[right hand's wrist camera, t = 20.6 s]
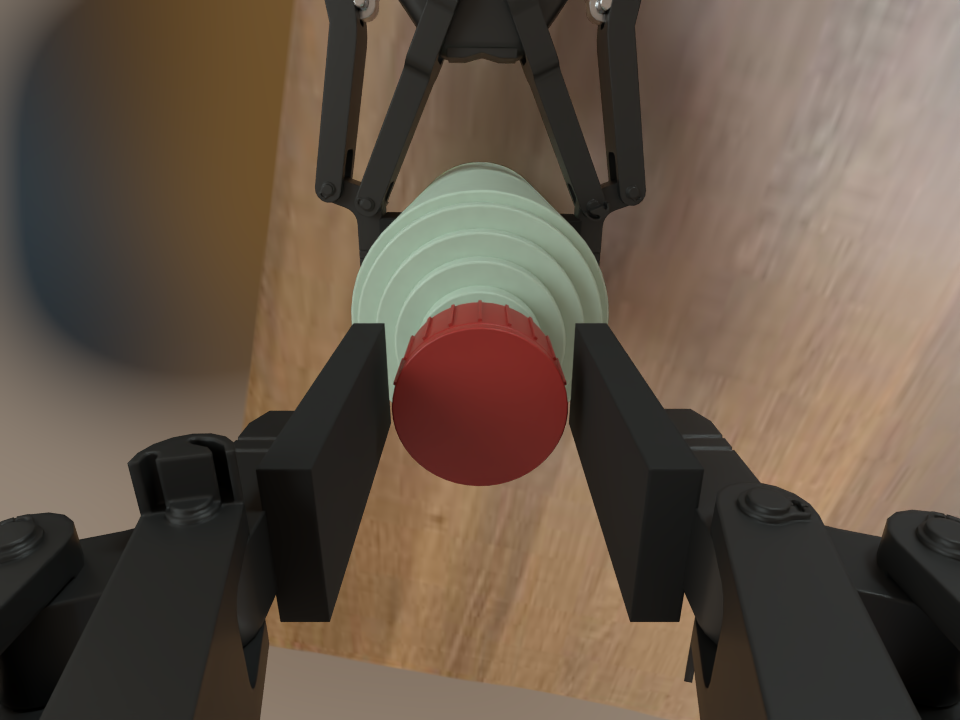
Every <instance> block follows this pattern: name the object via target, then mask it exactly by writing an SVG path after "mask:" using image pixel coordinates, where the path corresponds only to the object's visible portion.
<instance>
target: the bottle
mask: <svg viewBox="0 0 960 720" xmlns="http://www.w3.org/2000/svg"><path fill="white" fill-rule="evenodd" d="M478 300H482V302H486V303H494V304H499V305H503V306H505V304H507V305H509V308H512V309H514V310H516V311H518V312H520V313H522V314H523V315H525V316H526V317H528V318H529V316H530V317H531V318H532V319H533V322H534V323H535V324H536V325H537V326H538V327H539V328H540V329H541V331H542V332H543V333H544V334H545V336H547V335H548V336H549V338H550V341H551V344H552V347H553V349H554V352H555V355H556V358H558V359H559V362H560V365H561V368H562V371H563V374H564V377H565V380H566V383H567V385H565V388H566V392H567V399H568V402H569V401H570V400H571V384H572V368H573V352H574V337H575V323H607V325H608V298H607V291H606V286H605V282H604V279H603V276H602V272H601V270H600V267H599V265H598V263H597V261H596V259H595V256H594V255H593V253H592V252H591V250H590V248H589V247H588V245H587V244H586V242H585V241H584V240H583V238H582V237H581V236H580V235H579V234H578V233H577V231H576V230H575V229H574V228H573V227H572V226H571V225H570V224H569V223H568V222H567V221H566V220H565V219H564V218H563V217H562V216H561V215H560V214H559V213H558V212H557V211H556V210H555V209H554V208H553V207H552V206H551V205H550V204H549V203H548V202H547V201H546V200H545V199H544V198H543V197H542V196H541V195H540V194H539V193H538V192H537V191H536V190H535V189H534V188H533V187H532V186H531V185H530V184H529V183H528V182H527V181H526V180H525V179H524V178H523V177H522V176H520V175H519V174H517V173H516V172H514V171H513V170H511V169H509V168H507V167H504V166H501V165H498V164H494V163H489V162H472V163H466V164H462V165H459V166H456V167H454V168H451V169H449V170H448V171H446V172H444V173H443V174H441V175H440V176H439V177H437V178H436V179H435V180H434V181H433V182H432V183H431V184H430V185H429V186H428V187H427V188H426V189H425V190H424V191H423V192H422V193H421V194H420V195H419V196H418V197H417V198H416V199H415V200H414V201H413V202H412V203H411V204H410V205H409V206H408V207H407V208H406V209H405V210H404V211H403V212H402V213H401V214H400V215H399V216H398V217H397V218H396V219H395V220H394V221H393V222H392V223H391V224H390V225H389V226H388V227H387V228H386V229H385V230H384V231H383V232H382V233H381V235H380V236H379V237H378V239H377V240H376V241H375V242H374V244H373V245H372V246H371V248H370V250H369V252H368V253H367V255H366V257H365V259H364V260H363V263H362V265H361V268H360V270H359V273H358V275H357V278H356V283H355V287H354V291H353V298H352V308H351V311H352V325H353V323H385V336H386V352H387V368H388V384H389V400H390V401H391V402H392V398H393V392H394V387H395V385H393V383H394V379H395V377H396V374H397V371H398V368H399V365H400V362H401V359H402V358H404V355H405V352H406V349H407V346H408V343H409V341H410V338H411V336H412V335H413V336H415V334H416V333H417V332H418V330H419V329H420V328H421V327H422V326H423V325H424V324H425V323H426V322H427V319H428V318H429V317H430V316H431V318H432V317H434V316H435V315H437V314H438V313H440V312H442V311H444V310H446V309H448V308H451V305H453V304H455V306H457V305H460V304H466V303H473V302H478Z"/></svg>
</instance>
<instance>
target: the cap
mask: <svg viewBox="0 0 960 720" xmlns="http://www.w3.org/2000/svg"><path fill="white" fill-rule="evenodd" d="M393 385H395V387H394V392H393V398H392V414H393V421H394V425H395V429H396V431H397V434H398V436H399V439H400V440H401V442H402V444H403V446H404V447H405V449H406V450H407V451H408V453H409V454H410V455H411V456H412V457H413V458H414V459H415V460H416V461H417V462H418V463H419V464H420V465H421V466H422V467H424V468H425V469H426V470H428V471H429V472H431V473H433V474H434V475H436V476H438V477H441V478H443V479H445V480H448V481H451V482H454V483H458V484H463V485H471V486H490V485H497V484H502V483H505V482H509V481H512V480H515V479H517V478H520V477H522V476H523V475H525V474H527V473H529V472H531V471H532V470H533V469H535V468H536V467H538V466H539V465H540V464H541V463H542V462H543V461H544V460H546V458H547V457H548V456H549V455H550V454H551V453H552V452H553V450H554V449H555V447H556V445H557V444H558V442H559V440H560V438H561V436H562V434H563V431H564V428H565V425H566V421H567V415H568V399H567V392H566V388H565V385H567V383H566V380H565V377H564V374H563V371H562V368H561V365H560V362H559V359H558V358H556V355H555V352H554V349H553V347H552V344H551V341H550V338H549V336H548V335H547V336H545V334H544V333H543V332H542V331H541V329H540V328H539V327H538V326H537V325H536V324H535V323H534V322H533V319H532V318H531V317H530V316H529V318H528V317H526V316H525V315H523V314H522V313H520V312H518V311H516V310H514V309H512V308H509V305H507V304H505V306H503V305H499V304H494V303H486V302H482V300H478V302H473V303H466V304H460V305H457V306H455V304H453V305H451V308H448V309H446V310H444V311H442V312H440V313H438V314H437V315H435V316H434V317H432V318H431V316H430V317H429V318H428V319H427V322H426V323H425V324H424V325H423V326H422V327H421V328H420V329H419V330H418V332H417V333H416V334H415V336H413V335H412V336H411V338H410V341H409V343H408V346H407V349H406V352H405V355H404V358H402V359H401V362H400V365H399V368H398V371H397V374H396V377H395V379H394V383H393Z"/></svg>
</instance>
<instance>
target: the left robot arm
mask: <svg viewBox="0 0 960 720" xmlns="http://www.w3.org/2000/svg"><path fill="white" fill-rule="evenodd" d="M567 1H568V0H399V2H400V3H401V5H402V6H403V8H404V9H405V11H406V12H407V14H408V15H409V17H410V18H411V20H412V21H413V23H414V24H415V26H416V27H417V28H416V31H415V34H414V37H413V39H412V42H411V45H410V47H409V50H408V53H407V56H406V59H405V65H404V68H403V71H402V74H401V77H400V79H399V82H398V85H397V88H396V90H395V93H394V96H393V98H392V101H391V104H390V106H389V109H388V112H387V114H386V117H385V120H384V123H383V125H382V128H381V131H380V133H379V136H378V139H377V141H376V144H375V147H374V149H373V152H372V155H371V158H370V160H369V163H368V166H367V168H366V171H365V174H364V176H363V179H362V182H359V181H357V180H354V179H352V177H353V168H354V159H355V150H356V141H357V132H358V123H359V113H360V104H361V95H362V86H363V77H364V68H365V59H366V50H367V25H366V22H370V21H372V20H374V19H375V18H376V16H377V14H378V11H379V0H325V4H326V8H327V13H328V17H329V22H330V24H329V36H328V47H327V58H326V70H325V81H324V92H323V103H322V115H321V126H320V137H319V149H318V160H317V171H316V182H315V191H316V194H317V196H318V197H319V198H320V199H321V200H322V201H324V202H332V203H335V204H337V205H340V206H343V207H345V208H347V209H349V210H351V211H352V212H353V213H354V215H355V216H356V219H357V223H358V236H359V250H360V266H361V265H362V263H363V260H364V259H365V257H366V255H367V253H368V252H369V250H370V248H371V246H372V245H373V244H374V242H375V241H376V240H377V239H378V237H379V236H380V235H381V233H382V232H383V231H384V230H385V229H386V228H387V227H388V226H389V225H390V224H391V223H392V222H393V221H394V220H395V219H396V218H397V217H398V216H399V215H400V214H401V213H402V212H387V213H386V206H387V204H388V203H389V202H388V199H389V197H390V194H391V191H392V189H393V186H394V184H395V181H396V179H397V176H398V174H399V171H400V168H401V166H402V163H403V161H404V158H405V156H406V153H407V151H408V148H409V145H410V143H411V140H412V138H413V135H414V133H415V130H416V128H417V125H418V123H419V120H420V117H421V115H422V112H423V110H424V107H425V105H426V102H427V100H428V97H429V94H430V92H431V89H432V87H433V84H434V82H435V81H436V79H437V77H438V74H439V72H440V69H441V67H442V64H443V62H444V59H445V60H448V61H449V63H466V62H470V61H473V60H477V59H480V58H484V59H487V60H490V61H493V62H497V63H515V62H516V61H518V60H520V63H521V65H522V68H523V71H524V74H525V76H526V79H527V81H528V83H529V85H530V87H531V90H532V92H533V95H534V98H535V100H536V103H537V106H538V109H539V111H540V114H541V117H542V119H543V122H544V125H545V128H546V130H547V133H548V136H549V138H550V141H551V144H552V147H553V149H554V152H555V155H556V157H557V160H558V163H559V166H560V168H561V171H562V174H563V176H564V179H565V182H566V185H567V187H568V190H569V193H570V195H571V198H572V201H573V204H574V206H575V211H574V214H560V215H561V216H562V217H563V218H564V219H565V220H566V221H567V222H568V223H569V224H570V225H571V226H572V227H573V228H574V229H575V230H576V231H577V233H578V234H579V235H580V236H581V237H582V238H583V240H584V241H585V242H586V244H587V245H588V247H589V248H590V250H591V252H592V253H593V255H594V256H595V259H596V261H597V263H598V265H599V263H600V262H599V261H600V251H601V239H602V228H603V222H604V220H605V218H606V217H607V215H608V214H610V213H611V212H613V211H615V210H617V209H620V208H623V207H626V206H629V205H630V206H634V205H637V204H639V203H640V202H641V201H642V200H643V199H644V197H645V193H646V186H645V171H644V156H643V141H642V126H641V112H640V97H639V82H638V67H637V52H636V38H635V23H636V19H637V15H638V11H639V7H640V2H641V0H585V3H586V15H587V18H588V19H589V21H590V22H591V23H593V24H595V25H598V31H597V55H598V66H599V77H600V88H601V100H602V111H603V122H604V133H605V144H606V155H607V167H608V178H609V182H606V183H603V184H601V185H600V183H599V180H598V177H597V174H596V171H595V168H594V166H593V163H592V160H591V157H590V154H589V151H588V148H587V145H586V143H585V140H584V137H583V134H582V131H581V128H580V125H579V122H578V120H577V117H576V114H575V111H574V108H573V105H572V102H571V99H570V97H569V94H568V91H567V88H566V85H565V82H564V79H563V76H562V74H561V71H560V67H559V61H558V57H557V54H556V51H555V48H554V45H553V42H552V39H551V36H550V33H549V31H548V28H549V27H550V26H551V24H552V23H553V21H554V20H555V18H556V17H557V15H558V14H559V12H560V11H561V9H562V8H563V7H564V5H565V4H566V2H567Z"/></svg>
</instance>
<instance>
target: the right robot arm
mask: <svg viewBox="0 0 960 720" xmlns="http://www.w3.org/2000/svg"><path fill="white" fill-rule="evenodd" d="M390 425H391V416H390V400H389V384H388V368H387V352H386V336H385V323H353V325H352V326H351V328H350V329H349V331H348V332H347V334H346V335H345V337H344V338H343V340H342V341H341V343H340V344H339V346H338V347H337V349H336V350H335V352H334V353H333V354H332V356H331V357H330V359H329V360H328V362H327V363H326V365H325V366H324V368H323V369H322V371H321V372H320V374H319V375H318V377H317V378H316V380H315V381H314V383H313V384H312V386H311V387H310V389H309V390H308V392H307V393H306V395H305V396H304V398H303V399H302V401H301V402H300V404H299V405H298V407H297V408H296V410H295V411H269V412H267V413H265V414H264V415H262V416H260V417H259V418H257V419H255V420H254V421H252V422H250V423H249V424H248V426H247V427H246V428H245V429H244V431H243V432H242V433H241V434H240V436H239V437H238V440H236V441H235V442H232V441H231V440H230V439H228V438H227V437H225V436H221V435H216V434H212V433H209V434H189V435H184V436H178V437H173V438H170V439H167V440H164V441H162V442H159V443H156V444H153V445H151V446H149V447H148V448H146V449H144V450H142V451H140V452H139V453H137V454H136V455H135V456H134V457H133V458H132V459H131V460H130V461H129V462H128V467H129V471H130V475H131V479H132V483H133V487H134V491H135V495H136V498H137V502H138V506H139V510H140V514H141V517H140V519H139V521H138V523H137V525H136V527H135V528H134V529H130V530H126V531H122V532H116V533H111V534H106V535H101V536H96V537H90V538H85V539H80V540H79V538H78V535H77V532H76V528H75V525H74V522H73V521H72V520H71V519H69V518H68V517H67V516H65V515H62V514H55V513H40V514H27V515H22V516H17V518H10V519H7V520H4V521H1V522H0V720H260V714H261V706H262V698H263V690H264V681H265V673H266V665H267V657H268V649H269V639H268V632H267V626H266V621H265V618H266V616H267V614H268V611H269V609H270V607H271V604H272V602H273V600H274V598H275V595H276V597H277V603H278V609H279V615H280V621H281V622H330V619H331V616H332V613H333V610H334V606H335V603H336V600H337V597H338V594H339V590H340V587H341V584H342V581H343V577H344V574H345V571H346V568H347V564H348V561H349V558H350V555H351V551H352V548H353V545H354V542H355V538H356V535H357V532H358V529H359V525H360V522H361V519H362V516H363V512H364V509H365V506H366V503H367V499H368V496H369V493H370V490H371V486H372V483H373V480H374V477H375V473H376V470H377V467H378V464H379V460H380V457H381V454H382V451H383V447H384V444H385V441H386V438H387V434H388V431H389V428H390ZM569 425H570V428H571V431H572V434H573V438H574V441H575V444H576V447H577V451H578V454H579V457H580V460H581V464H582V467H583V470H584V473H585V477H586V480H587V483H588V486H589V490H590V493H591V496H592V499H593V503H594V506H595V509H596V512H597V516H598V519H599V522H600V525H601V529H602V532H603V535H604V538H605V542H606V545H607V548H608V551H609V555H610V558H611V561H612V564H613V568H614V571H615V574H616V577H617V581H618V584H619V587H620V590H621V593H622V597H623V600H624V603H625V606H626V610H627V613H628V616H629V619H630V622H679V621H680V615H681V609H682V603H683V597H684V593H685V595H686V597H687V599H688V601H689V604H690V606H691V608H692V610H693V613H694V615H695V621H694V626H693V632H692V638H691V643H690V649H689V655H688V660H687V666H686V672H685V679H684V681H686V682H691V683H692V680H693V675H694V672H695V680H696V688H697V696H698V705H699V713H700V720H960V519H959V518H957V517H953V516H950V515H947V516H946V515H944V514H943V513H938V512H928V511H918V510H908V511H901V512H896V513H894V514H893V515H892V516H890V517H889V518H888V519H887V522H886V525H885V529H884V532H883V535H882V537H878V536H873V535H868V534H863V533H857V532H852V531H847V530H842V529H837V528H833V527H829V526H825V525H824V524H823V522H822V520H821V518H820V516H819V514H818V513H817V512H816V511H815V510H814V508H813V507H812V506H811V505H810V504H809V503H808V502H806V501H805V500H803V499H802V498H800V497H799V496H797V495H796V494H794V493H791V492H789V491H786V490H784V489H781V488H779V487H776V486H772V485H767V484H763V483H760V482H759V480H758V479H757V478H756V477H755V475H754V474H753V473H752V472H751V470H750V469H749V468H748V467H747V465H746V464H745V463H744V462H743V460H742V459H741V458H740V457H739V456H738V454H737V453H736V452H735V451H734V450H732V447H731V446H730V444H729V443H728V442H727V441H726V439H725V438H722V434H721V433H720V432H719V431H718V429H717V428H716V427H715V426H714V424H713V423H712V422H711V421H710V420H708V419H706V418H705V417H703V416H701V415H700V414H698V413H696V412H695V411H693V410H691V409H664V408H663V407H662V405H661V404H660V402H659V401H658V399H657V398H656V396H655V395H654V393H653V392H652V390H651V389H650V387H649V386H648V384H647V383H646V381H645V380H644V378H643V377H642V375H641V374H640V372H639V371H638V369H637V368H636V366H635V365H634V363H633V362H632V360H631V359H630V357H629V356H628V354H627V353H626V351H625V350H624V349H623V347H622V346H621V344H620V343H619V341H618V340H617V338H616V337H615V335H614V334H613V332H612V331H611V329H610V328H609V326H608V325H607V323H575V337H574V352H573V368H572V384H571V400H570V416H569Z"/></svg>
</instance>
